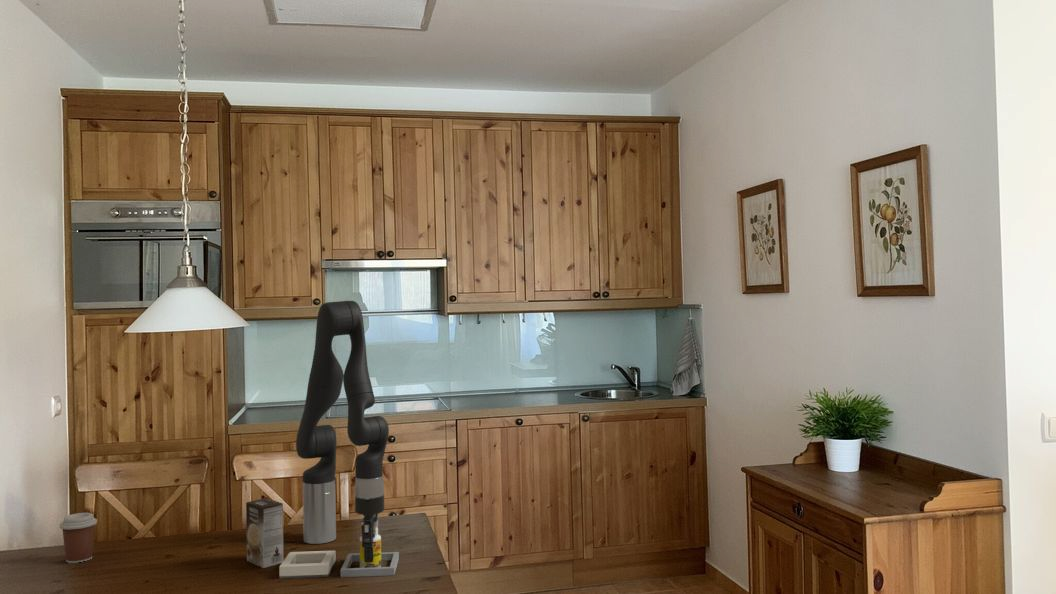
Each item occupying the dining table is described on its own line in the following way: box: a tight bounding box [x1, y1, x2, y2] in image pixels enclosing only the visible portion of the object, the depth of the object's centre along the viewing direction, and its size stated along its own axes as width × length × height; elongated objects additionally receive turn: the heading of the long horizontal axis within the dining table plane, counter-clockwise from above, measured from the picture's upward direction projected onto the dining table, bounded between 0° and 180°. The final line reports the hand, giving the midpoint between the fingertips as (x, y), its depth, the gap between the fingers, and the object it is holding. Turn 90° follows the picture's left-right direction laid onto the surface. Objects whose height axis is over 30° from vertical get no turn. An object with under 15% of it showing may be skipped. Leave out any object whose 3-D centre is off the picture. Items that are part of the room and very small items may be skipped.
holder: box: [278, 550, 337, 580], centre depth 215 cm, size 12×12×3 cm
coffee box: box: [245, 497, 284, 569], centre depth 222 cm, size 9×6×16 cm
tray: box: [340, 551, 400, 578], centre depth 216 cm, size 13×13×2 cm
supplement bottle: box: [359, 527, 382, 568], centre depth 216 cm, size 6×6×10 cm
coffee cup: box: [59, 512, 98, 564], centre depth 226 cm, size 9×9×12 cm
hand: (370, 557), depth 216 cm, fingers open, 6 cm apart
